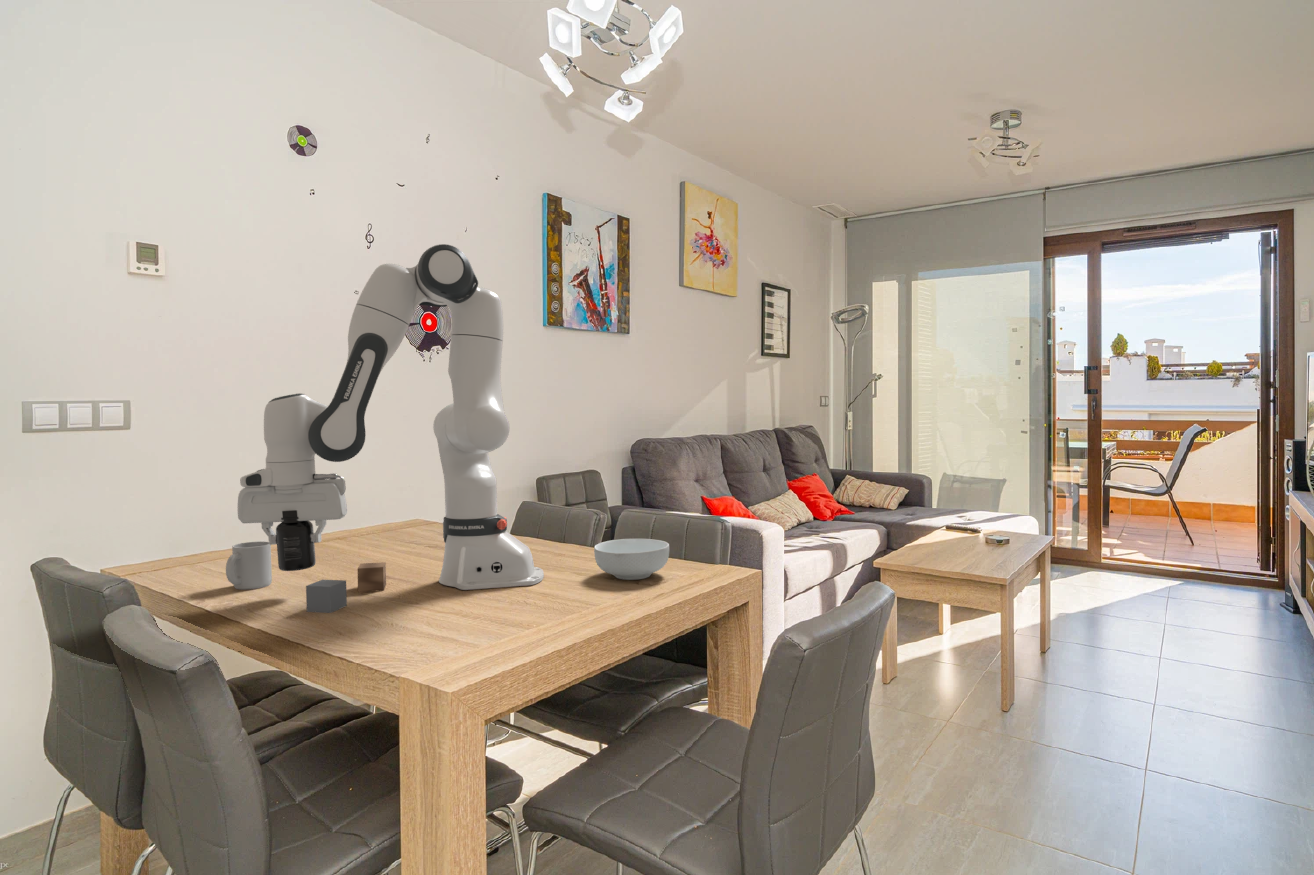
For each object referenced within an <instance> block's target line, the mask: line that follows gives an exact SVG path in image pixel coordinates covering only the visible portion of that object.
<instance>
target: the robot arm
mask: <svg viewBox="0 0 1314 875" xmlns="http://www.w3.org/2000/svg"><path fill="white" fill-rule="evenodd" d="M478 285H479V280H478V277H477V276H476V274H475V272H474V268H473V267H472V264H471V262H470V260H469V259H468V257H467V256H466V254H465V253H464V252H463V251H462V250H460V249H459V248H458V247H456V246H454V245H450V244H436V245H432V246H431V247H429V248H427V249H426V250H425V251H424V252H423V253H422V254H421V255H420V258H419V261H418V262H417V264H416V265H415V266H413V267H404V266H403V265H399V264H396V263H383V264H380V265H378V267H376V268H375V269H374V271H373V272H372V274H371V275H370V277H369V278H368V280H367V282H366V283H365V285H364V287H363V289H362V291H361V292H360V295H359V297H358V299H357V302H356V304H355V307H354V308H353V312H352V315H351V319H350V323H349V327H348V331H347V334H348V335H347V343H348V344H347V345H348V351H347V352H348V353H347V359H346V363H345V364H346V365H345V367H344V370H343V373H342V374H341V378H340V380H339V382H338V385H337V388H336V390H335V393H334V395H333V398H332V400H331V401H330V403H329V404H328V405H327V404H325V403H322V402H320V401H318V400H315V399H313V398H312V397H310V396H308V395H307V394H305V393H301V392H300V393H294V394H293V393H292V394H287V395H283V396H282V395H281V396H278V397H273V399H271V400H269V401H268V403H267V404H266V405H265V407H264V412H263V439H264V444H265V446H266V456H265V467H264V468H262V469H258V470H256V471H255V472H252V473H249V474H246V475H243V476H241V477H240V483H239V484H240V486H241V487H242V488H241V490H240V491H239V493H238V496H237V518H238V520H239V522H240V523H242V524H259V523H260V524H261V529H262V530H263V532H264V533H265V535H266V536H267V537H268V542H269V545H271V546H272V545H277V540H276V532H275V531H274V530H273V528H272V527H274V523H281V522H283V521H284V520H281V518H283V515H282V511H291V510H297V517H298V518H299V519H297V520H298V521H310V522H312V521H313V522H315V527H316V526H318V527H317V528H316V531H315V532H314V533H313V534H311V543H314V544H316V543H321V542H322V533H323V531H324V530H325V527H326V525H327V521H332V520H333V521H335V520H341V519H343V518H345V516H346V515H347V514H348V505H347V498H346V495H345V492H346V488H347V487H346V480H345V479H344V477H343V476H341V475H338V474H337V473H333V472H332V473H316V461H315V459H316V458H315V456H318V457H320V458H321V459H323V460H325V461H328V462H331V463H333V462H334V463H340V462H345V461H349V460H351V459H353V458H354V457H355V456H357V455H358V454H360V452H361V450H362V449H363V447H364V445H365V442H366V426H365V425H366V424H365V415H366V411H367V408H368V406H369V405H368V404H369V402H370V400H371V397H372V394H373V392H374V388H375V387H376V384H377V381H378V378H379V377H380V374H381V372H382V371H383V369H384V367H385V366H386V365H387V363H388V362H389V361H390V360H391V359H392V357H393V356H394V354H396V352H397V350H398V348H399V347H400V346H401V345H402V342H403V340H404V338H405V337H406V334H407V331H408V329H409V326H410V324H411V322H412V319H413V317H414V314H415V312H416V310H417V309H418V307H419V306H428V307H429V306H430V307H435V308H443V307H444V308H445V307H448V309H449V311H450V313H451V321H452V323H451V332H450V344H449V345H450V346H449V353H448V354H449V356H448V368H447V369H448V370H447V371H448V375H449V379H450V383H451V389H452V399H453V401H452V402H453V403H450V404H448V405H446V406H445V407H443V408H442V409H441V410H440V411H439V412H438V413H437V414H436V416H435V418H434V420H433V426H432V429H433V434H434V436H435V438H436V441H437V448H438V452H439V458H440V459H439V460H440V463H441V467H442V473H443V474H442V475H443V481H444V506H445V507H444V508H445V510H444V513H445V515H444V516H443V522H442V538H443V542H444V553H443V562H442V566H441V571H440V572H441V573H440V576H439V579H438V583H440V584H441V585H444V586H448V587H453V588H457V589H458V590H463V591H467V590H468V591H469V590H481V589H482V590H483V589H493V588H494V589H496V588H507V587H508V588H509V587H519V586H520V587H522V586H533V585H536V584H538V583H540V582H542V580H544V577H545V574H544V569H542V568H541V567H537V566H535V564H534V559H533V554H532V552H531V549H530V547H529V546H528V545H526V544H525V543H523V542H522V541H520V540H519V539H518V538H517V537H515V536H514V535H513V534H511V533H510V532H509V531H507V530H508V523H507V522H508V520H507V517H506V516H502V515H501V514H498V487H497V486H498V485H497V484H498V482H497V477H496V475H495V473H494V470H493V466H492V462H491V458H490V455H489V453H492V452H494V451H495V450H497V449H499V448H501V447H502V446H503V445H504V444H505V443H506V441H507V440H508V438H509V435H510V423H509V422H510V421H509V419H508V417H507V415H506V412H505V408H504V399H503V393H502V382H501V375H502V374H501V373H502V372H501V369H502V358H503V356H502V355H503V354H502V353H503V342H504V312H503V305H502V300H501V298H500V296H499V295H498V294H497V293H495V292H494V291H492V290H490V289H488V288H485V287H482V286H481V287H480V286H478Z"/></svg>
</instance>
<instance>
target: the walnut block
mask: <svg viewBox="0 0 1314 875" xmlns="http://www.w3.org/2000/svg"><path fill="white" fill-rule="evenodd" d="M386 565H387V563H386V561H382V562H381V561H380V562H366V563H365V562H364V563H360V564H359V565H358V567H357V592H358V593H367V592H369V593H370V592H382V591H385V589H386V586H387V566H386Z"/></svg>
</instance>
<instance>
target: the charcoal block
mask: <svg viewBox="0 0 1314 875" xmlns="http://www.w3.org/2000/svg"><path fill="white" fill-rule="evenodd" d="M305 593H306V595H305V596H306V612H307V613H324V614H326V613H327V614H332V613H334V612H336V611H338V610H340V609H342V608H345V607H347V606H348V605H347V604H348V602H347V601H348V599H347V580H345V579H343V580H342V579H320V580H317V581H315V582H313V583H310V584H307V585H305Z"/></svg>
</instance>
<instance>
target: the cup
mask: <svg viewBox="0 0 1314 875" xmlns="http://www.w3.org/2000/svg"><path fill="white" fill-rule="evenodd" d="M271 546H272V545H269V541H246V542H241V543H236V544H233V545H232V547H231V548H232V550H231V551H232V554H231V555H230V556H229V557H228V558H227V561H226V565H225V575H226V579H227V581H228V582H230V583H231V584H232V585H233V587H234V589H236V590H243V591H244V590H245V591H247V590H248V591H249V590H257V589H262V588H267V587H269V586H270V585H271V584H272V581H273V575H272V547H271Z"/></svg>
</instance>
